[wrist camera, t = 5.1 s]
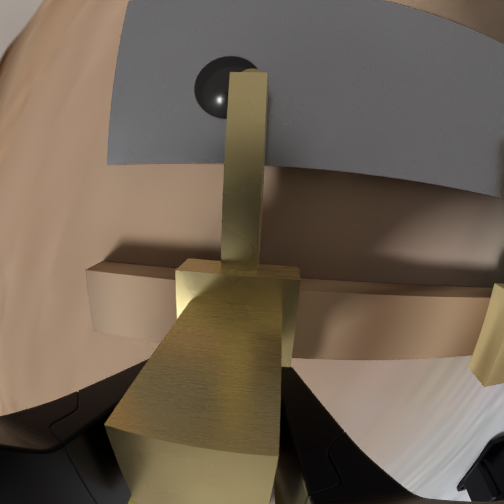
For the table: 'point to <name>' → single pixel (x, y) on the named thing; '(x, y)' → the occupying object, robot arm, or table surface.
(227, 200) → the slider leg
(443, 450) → the table surface
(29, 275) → the table surface
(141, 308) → the rail
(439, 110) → the hole plate
